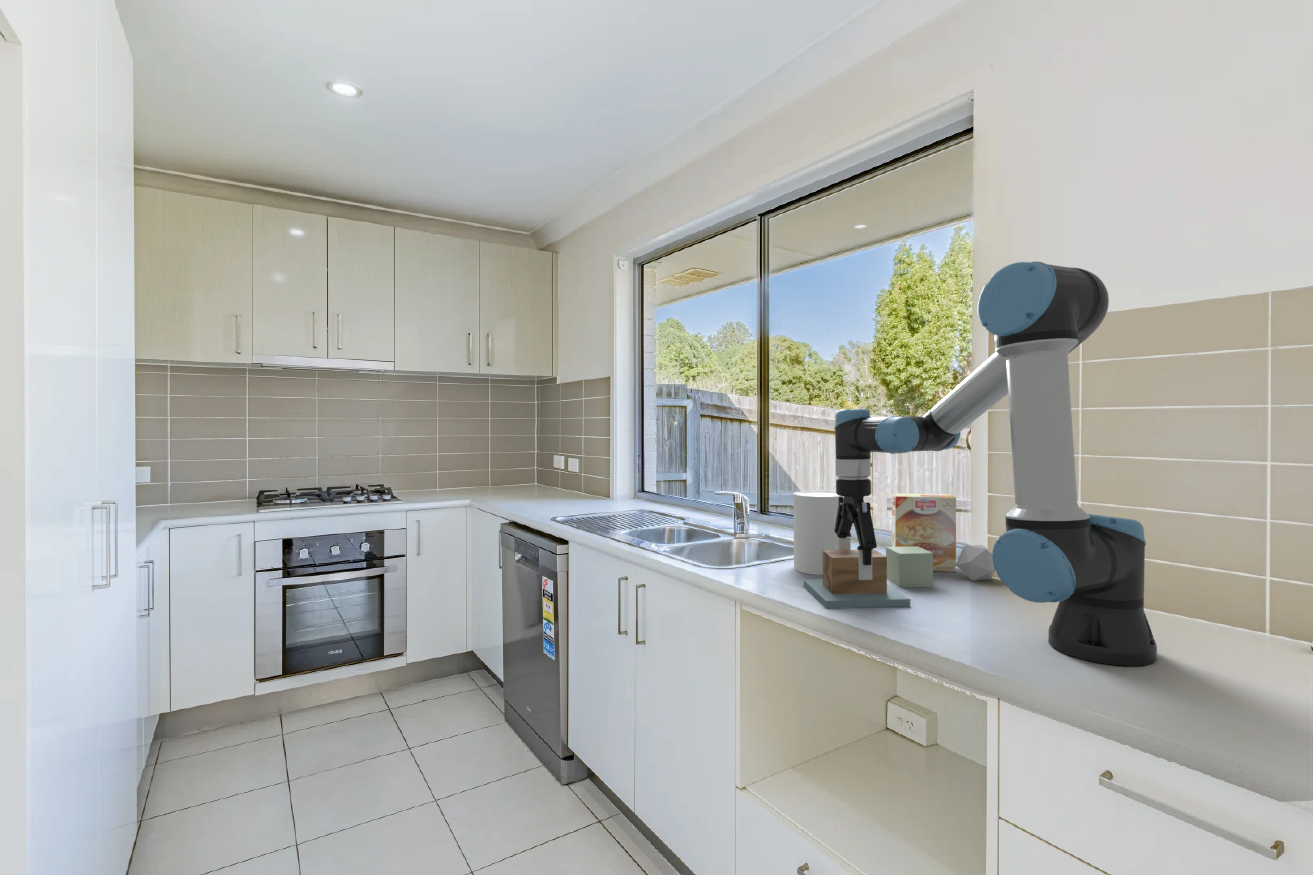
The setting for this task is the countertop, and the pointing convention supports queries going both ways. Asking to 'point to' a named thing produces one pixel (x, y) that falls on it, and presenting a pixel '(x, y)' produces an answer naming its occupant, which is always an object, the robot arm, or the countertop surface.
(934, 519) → the coffeecake box
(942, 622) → the countertop surface
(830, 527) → the canister
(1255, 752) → the countertop surface
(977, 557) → the die
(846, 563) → the walnut block
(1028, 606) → the countertop surface
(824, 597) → the base board
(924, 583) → the sage block
